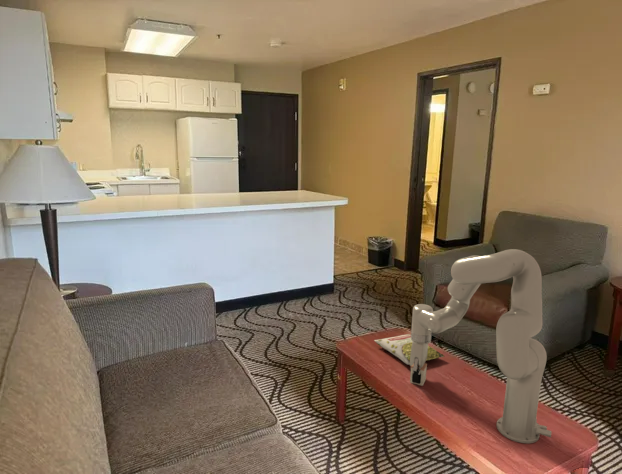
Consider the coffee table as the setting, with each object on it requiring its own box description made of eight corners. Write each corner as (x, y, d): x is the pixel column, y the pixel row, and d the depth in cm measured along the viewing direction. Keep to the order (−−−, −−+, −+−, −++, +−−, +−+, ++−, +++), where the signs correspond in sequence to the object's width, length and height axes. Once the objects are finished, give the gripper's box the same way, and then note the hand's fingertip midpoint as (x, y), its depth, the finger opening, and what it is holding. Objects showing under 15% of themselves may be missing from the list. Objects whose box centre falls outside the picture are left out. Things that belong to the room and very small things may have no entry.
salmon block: (425, 379, 168) (427, 363, 166) (422, 386, 163) (424, 369, 162) (412, 376, 170) (414, 360, 169) (409, 382, 166) (410, 366, 164)
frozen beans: (408, 358, 173) (373, 334, 195) (407, 371, 174) (372, 346, 196) (446, 350, 182) (408, 328, 204) (444, 362, 183) (407, 339, 205)
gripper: (416, 326, 172) (413, 367, 176) (405, 342, 157) (402, 387, 161) (435, 330, 169) (432, 372, 172) (425, 347, 154) (422, 392, 157)
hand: (418, 378), depth 166 cm, fingers closed on salmon block, 5 cm apart
